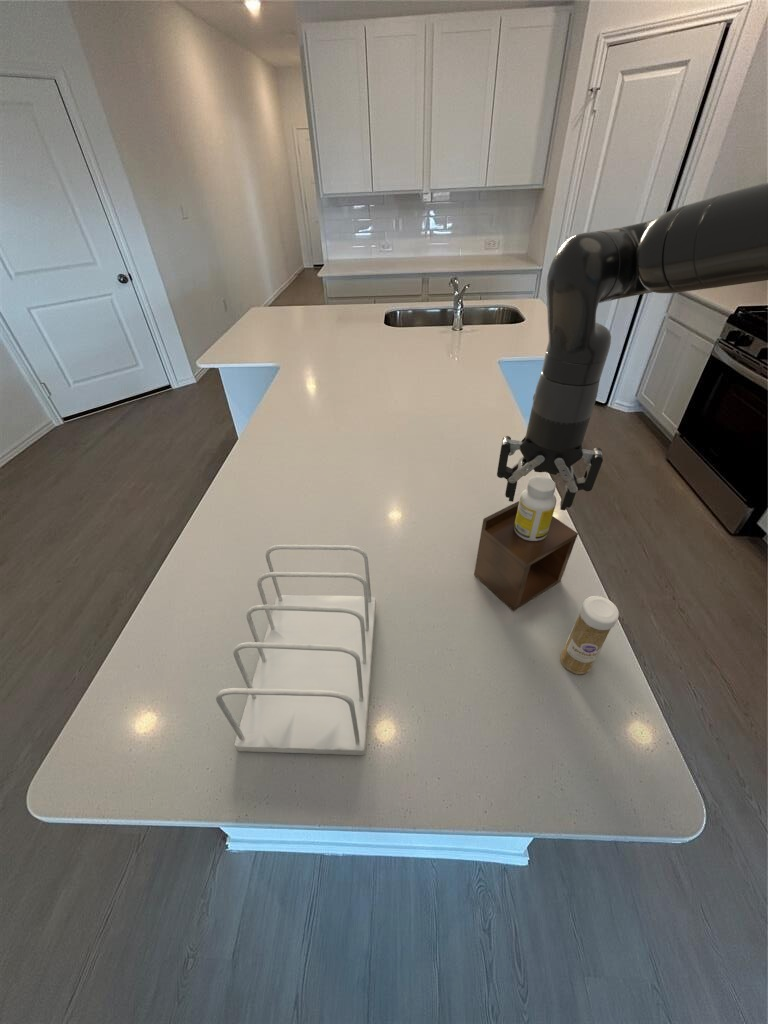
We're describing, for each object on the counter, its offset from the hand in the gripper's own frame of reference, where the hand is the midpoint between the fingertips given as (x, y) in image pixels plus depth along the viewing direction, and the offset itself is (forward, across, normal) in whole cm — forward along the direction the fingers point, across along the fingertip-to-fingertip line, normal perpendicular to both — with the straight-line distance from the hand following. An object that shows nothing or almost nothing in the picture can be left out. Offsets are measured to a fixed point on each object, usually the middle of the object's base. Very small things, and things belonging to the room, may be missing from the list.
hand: (536, 502), depth 69 cm
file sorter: (+18, -28, -27) cm, 43 cm away
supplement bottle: (+6, 0, 0) cm, 6 cm away
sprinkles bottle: (+18, +10, -15) cm, 25 cm away
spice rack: (+18, 0, 0) cm, 18 cm away
